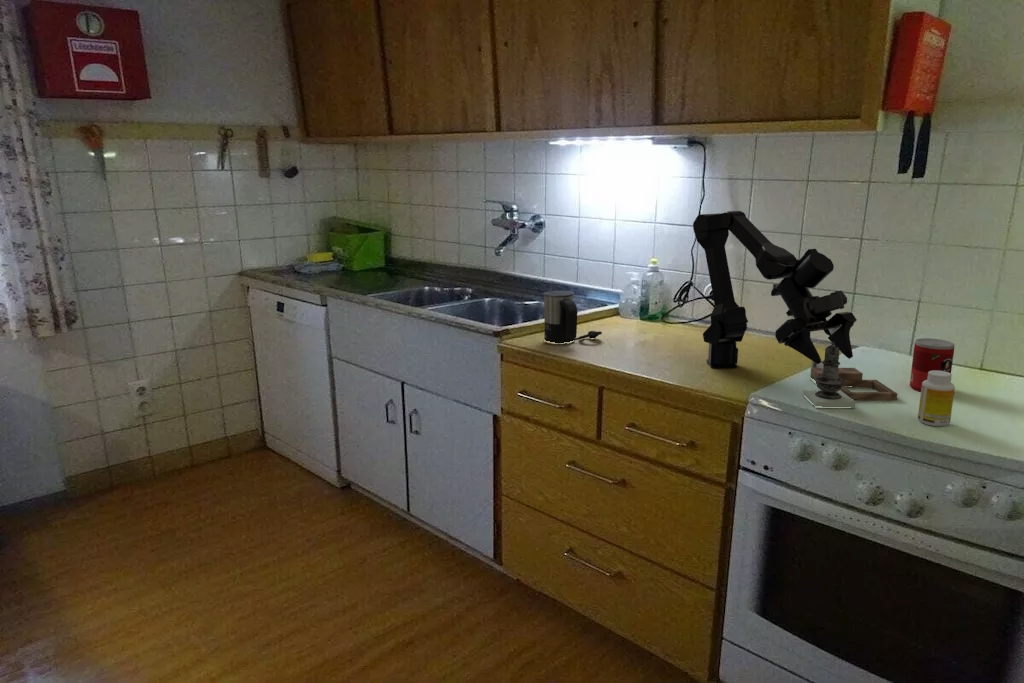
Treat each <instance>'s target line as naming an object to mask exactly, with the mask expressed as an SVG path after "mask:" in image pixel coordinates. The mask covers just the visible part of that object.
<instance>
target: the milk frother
mask: <svg viewBox="0 0 1024 683" xmlns="http://www.w3.org/2000/svg"><path fill="white" fill-rule="evenodd" d="M574 294H575V292H574V291H570V290H552V291H550V290H549V291H545V292H543V293H542V295H543V311H544V312H543V313H544V314H543V315H544V334H543V335H544V339H545V340H546V341H550V342H555V343H564V342H570V341H573V340H574V341H579V340H583V339H586V338H589V339H590V338H595V339H596V338H598V336H600V335H603V332H602V331H601V330H600V331H597V330H590V331H588V332H587V334H584V335H580V336H578V337H577V330H578V308H577V307H578V306H577V305H576V302H575V301H574ZM544 339H543V340H544Z"/></svg>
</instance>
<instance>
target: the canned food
mask: <svg viewBox="0 0 1024 683" xmlns="http://www.w3.org/2000/svg"><path fill="white" fill-rule="evenodd" d="M913 345H914V347H913V353H912V354H913V355H912V361H911V362H912V363H911V371H910V379H909V386H910V388H911V389H913V390H914V391H916V392H920V393H921V388H922V382H923V381H925V380H927V378H928V372H929V371H934V370H936V371H945V372H948V373H951V374H952V369H953V361H954V356H955V343H954V342H951V341H949V340H945V339H939V338H927V337H926V338H925V337H923V338H917V339H915V341H914V344H913Z"/></svg>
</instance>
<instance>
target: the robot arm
mask: <svg viewBox="0 0 1024 683" xmlns="http://www.w3.org/2000/svg"><path fill="white" fill-rule="evenodd" d="M692 229H693V233H694V236H695V239H696V241H697V242H698V244H699V245H700V246H701V248H702V249H703V250H704V253H705V254H704V255H705V258H706V263H707V269H708V276H709V281H710V286H711V287H710V288H711V291H712V297H713V298H712V299H713V304H714V307H713V309H712V311H711V314H710V325H709V326H708V328H707V329H706V330H704V332H703V333H702V337H703V343H704V342H705V343H707V344H708V353H707V354H708V355H707V359H706V363H707V364H708V365H709V366H710V368H713V369H716V368H719V369H720V368H723V369H724V368H727V369H728V368H729V369H730V368H732V369H734V368H735V369H736V368H737V367H738V365H737V364H738V358H739V357H738V356H739V348H738V347H737V343H740V342H742V341H743V339H744V337H745V336H744V335H745V333H746V331H747V329H748V322H749V320H748V318H747V313H746V312H747V310H746V308H745V306H739V304H738V303H737V302H736V300H735V296H734V289H733V284H732V279H731V274H730V267H729V263H728V258H727V253H726V252H727V251H726V244H727V241H728V238H729V236H730V233H731V234H732V235H733V236H734V237H735V238H736V239H737V240H738V241H739V242H740V244H742V245H743V247H745V248H746V249H747V252H749V253H750V254H751V255H752V256H753V258H754V259H755V266H756V268H757V269H758V271H759V272H760V274H761V276H762V277H763V278H764V279H765V280H769V281H770V280H779V279H780V280H781V281H779V282H778V283H774V284H772V290H771V291H770V296H771V297H775V296H776V297H777V296H778V297H779V296H780V297H781V299H782V300H783V302H784V303H785V305H786V307H787V309H788V310H787V311H786V312H785V314H786V315H787V317H793V318H789V319H786V321H784V322H783V323H782V324H781V325H780V326H779V327H778V328H777V329H776V330H775V334H774V338H775V339H776V341H777V343H778V344H780V345H781V344H784V346H785V347H789V348H791V349H793V350H795V351H797V352H798V353H800V354H801V355H803V356H805V358H807V359H808V360H810V361H811V362H815V363H816V364H819V363H821V362H822V359H821V357H820V354H819V352H818V350H817V349H816V346H815V345H814V342H813V340H812V339H811V332H818V331H824V333H825V334H826V335H828V337H827V339H828V340H829V341H830V343H832V342H834V345H835V346H836V347H838V348H839V352H841V353H842V354H843V355H844V356H845V357H846V358H847V359H848V360H849V359H850V360H851V359H852V358H853V357H854V354H853V348H852V343H851V336H850V331H851V328H852V327H853V326H854V324H855V323H856V322H857V317H856V316H855V315H854V314H853V312H851V311H842V312H836V313H835V314H833V313H832V312H833V311H836V310H837V311H838V310H839V309H840V310H842V309H845V305H847V304H848V298H847V296H846V295H845V293H844V292H843V290H836V291H835V292H830V294H827V295H824V296H819V295H813V294H812V293H811V291H810V289H814V288H816V287H817V286H818V285H819V284H820V283H821V282H823V281H824V279H825V278H827V276H829V275H830V274H831V273H832V272H833V271H834V268H835V267H834V263H833V261H832V259H831V258H830V257H828V256H826V255H825V254H823V253H821V252H818V250H817V248H808V249H807V250H806V251H805V252H804V254H803V255H802V257H801V258H799V259H797V257H796V256H795V254H793V253H791V252H790V251H789V250H787V249H785V248H784V247H781V246H778V245H776V244H774V243H772V242H771V241H770V240H769V238H767V237H766V236H765V235H764V234H763V233H762V231H760V230H759V229H758V228H757V227H756V226H755V225H754V224H753V223H752V221H750V219H748V218H747V215H746V214H745V212H743V211H741V210H728V211H726V212H725V211H724V212H722V213H719V212H718V213H702V214H701V213H700V214H698V215H697V216H696V218H695V219H694V221H693V222H692ZM729 232H730V233H729ZM832 314H833V315H832ZM830 316H831V317H830ZM829 317H830V318H829ZM827 318H829V319H828V320H827Z"/></svg>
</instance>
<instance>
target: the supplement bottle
mask: <svg viewBox="0 0 1024 683" xmlns="http://www.w3.org/2000/svg"><path fill="white" fill-rule="evenodd" d="M955 386H956V385H955V384H954V383H953V382H952V372H951V373H948V372H945V371H936V370H934V371H929V372H928V378H927V380H925V381H923V382H922V388H921V392H920V397H919V406H918V412H917V413H918V414H917V419H918V421H919V422H920V423H922V424H924V425H927V426H933V427H947V426H948V425H950V423H951V417H952V411H953V410H952V409H953V405H954V404H953V403H954V396H955V389H956V388H955Z"/></svg>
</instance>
